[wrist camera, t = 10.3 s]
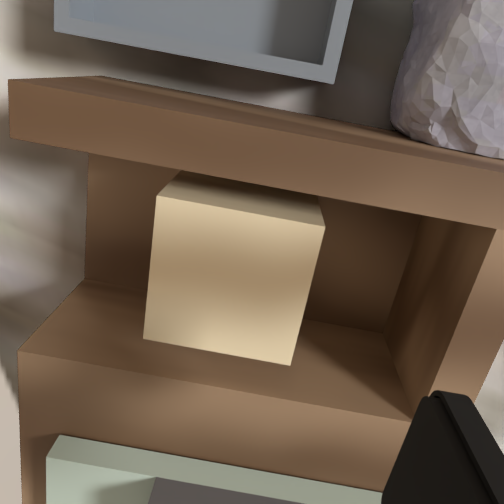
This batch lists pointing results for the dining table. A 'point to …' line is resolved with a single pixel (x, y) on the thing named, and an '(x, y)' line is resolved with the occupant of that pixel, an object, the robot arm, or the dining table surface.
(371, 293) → the brown open box
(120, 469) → the sliding lid
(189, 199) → the birch block
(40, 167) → the dining table surface
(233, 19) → the gray tray
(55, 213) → the dining table surface
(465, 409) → the robot arm
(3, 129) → the dining table surface
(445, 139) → the stone block
